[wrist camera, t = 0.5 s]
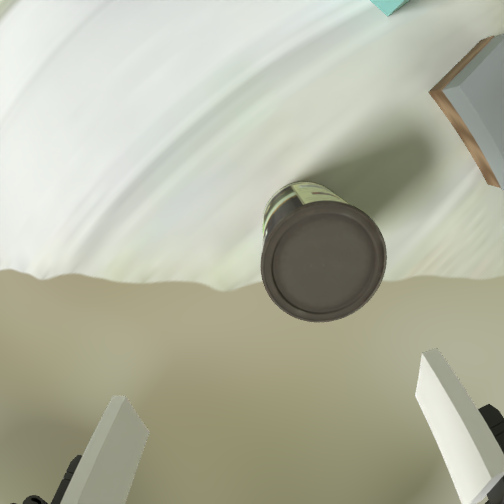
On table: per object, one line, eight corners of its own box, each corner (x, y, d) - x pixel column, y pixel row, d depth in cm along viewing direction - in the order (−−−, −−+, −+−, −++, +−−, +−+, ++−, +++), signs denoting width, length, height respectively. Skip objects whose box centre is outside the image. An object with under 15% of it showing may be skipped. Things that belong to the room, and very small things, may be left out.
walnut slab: (426, 92, 31) (441, 88, 27) (478, 41, 27) (493, 35, 23) (485, 183, 34) (502, 188, 30) (529, 124, 30) (545, 125, 26)
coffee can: (276, 273, 39) (281, 336, 26) (250, 196, 36) (242, 224, 23) (353, 250, 38) (394, 302, 24) (333, 170, 35) (373, 185, 21)
